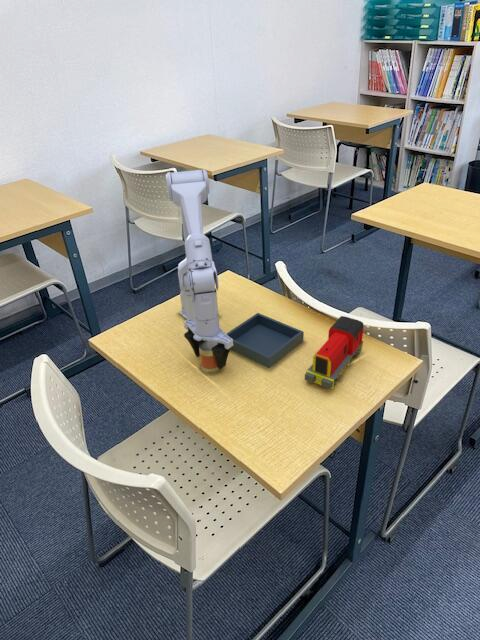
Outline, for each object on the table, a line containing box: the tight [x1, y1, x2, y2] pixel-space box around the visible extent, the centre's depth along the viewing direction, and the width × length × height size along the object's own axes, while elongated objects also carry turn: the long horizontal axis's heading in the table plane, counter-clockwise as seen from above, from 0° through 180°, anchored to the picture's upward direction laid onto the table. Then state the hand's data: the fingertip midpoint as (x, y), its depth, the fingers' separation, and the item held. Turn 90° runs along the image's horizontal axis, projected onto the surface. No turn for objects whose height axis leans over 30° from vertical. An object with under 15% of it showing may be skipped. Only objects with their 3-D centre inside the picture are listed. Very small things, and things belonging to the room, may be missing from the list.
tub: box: [226, 312, 305, 369], centre depth 127 cm, size 16×15×4 cm
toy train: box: [304, 315, 365, 390], centre depth 116 cm, size 7×19×10 cm, turn 146°
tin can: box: [199, 340, 220, 373], centre depth 119 cm, size 5×5×7 cm
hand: (210, 360), depth 120 cm, fingers open, 7 cm apart
